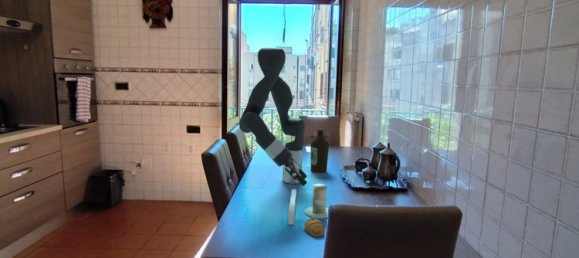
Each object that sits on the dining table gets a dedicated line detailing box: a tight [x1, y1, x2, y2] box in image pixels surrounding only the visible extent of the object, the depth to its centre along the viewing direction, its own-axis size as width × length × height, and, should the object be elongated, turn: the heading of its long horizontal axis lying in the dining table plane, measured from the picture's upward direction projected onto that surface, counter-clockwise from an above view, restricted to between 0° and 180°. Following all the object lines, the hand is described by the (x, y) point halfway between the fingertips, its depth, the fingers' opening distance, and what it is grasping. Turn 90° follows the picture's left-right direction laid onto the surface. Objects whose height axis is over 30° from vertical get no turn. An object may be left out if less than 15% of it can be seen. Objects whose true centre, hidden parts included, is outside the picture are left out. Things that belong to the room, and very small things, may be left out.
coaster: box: [304, 206, 329, 220], centre depth 148 cm, size 12×12×1 cm
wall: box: [287, 188, 297, 225], centre depth 148 cm, size 26×2×5 cm, turn 177°
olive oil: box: [310, 127, 330, 174], centre depth 208 cm, size 11×11×25 cm
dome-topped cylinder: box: [311, 183, 328, 214], centre depth 147 cm, size 6×6×11 cm
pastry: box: [303, 217, 325, 238], centre depth 130 cm, size 9×7×4 cm
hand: (305, 181), depth 146 cm, fingers open, 8 cm apart
